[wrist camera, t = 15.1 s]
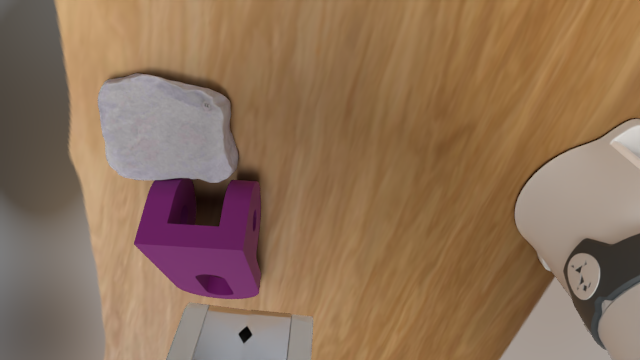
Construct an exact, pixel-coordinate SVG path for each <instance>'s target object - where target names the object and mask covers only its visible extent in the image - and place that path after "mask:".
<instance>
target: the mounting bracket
mask: <svg viewBox="0 0 640 360" xmlns="http://www.w3.org/2000/svg"><path fill="white" fill-rule="evenodd" d="M260 217H261V198H260V185H259V183H258V181H244V180H231V182H230V183H229V185H228V187H227V190H226V194H225V198H224V203H223V209H222V214H221V220H220V225H219V227H218V226H202V225H195V220H196V198H195V192H194V185H193V182H192V181H191V179H190V178H174V179H167V180H155V181H154V183H153V184H152V186H151V188H150V191H149V193H148V196H147V200H146V203H145V207H144V210H143V214H142V217H141V221H140V224H139V228H138V231H137V235H136V238H135V242H134V245H135V246H136V247H137V248H138V249H139V250H140V251H141V252H142V253H143V254H144V255H145V256H147V257H148V258H149V259H150V260H151V261H152V262H153V263H154V264H155V265H156V266H157V267H158V268H159V269H160V270H161V271H162V272H163V273H164V274H165V275H166V276H167V277H168V278H169V279H170V280H171V281H172V282H173V283H174V284H175V285H176V286H177V287H178V288H180V289H182V290H184V291H187V292H189V293H193V294H197V295H201V296H206V297H213V298H223V299H243V298H250V297H254V296H256V295H257V294H258V293H259V287H260V279H261V272H260V269H259V266H258V263H257V260H256V252H257V245H258V237H259V229H260ZM212 275H215V276H219V277H222V278H219V277H215V276H212Z"/></svg>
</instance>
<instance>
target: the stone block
mask: <svg viewBox="0 0 640 360" xmlns="http://www.w3.org/2000/svg"><path fill="white" fill-rule="evenodd" d="M98 107H99V112H100V120H101V128H102V133H103V137H104V140H105V150H106V158H107V161H108V163H109V165H110V166H111V167H112V169H114V170H116V171H117V173H118V174H119V175H121V176H123V177H126V178H131V179H134V180H167V179H174V178H190V179H201V180H204V181H207V182H209V183H219V182H221V181H223V180H225V179H227V178H229V177H230V176H231V174H232V173H233V172H234V171H235V170H236V169H237V164H238V158H239V155H238V151H237V148H236V144H235V142H234V139H233V135H232V133H231V131H230V126H229V125H230V118H231V110H230V107H231V104H230V101H229V100H228V99H227V98H226V97H225V96H224V95H222V94H221V93H218V92H215V91H213V90H211V89H209V88H203V87H199V86H195V85H189V84H184V83H182V82H178V81H171V80H167V79H164V78H162V77H157V76H153V75H148V74H139V73H135V74H132V75H129V76H126V77H123V78H114V79H108V80H106V81H105V82H104V84H103V86H102V87H101V89H100V92H99V96H98Z"/></svg>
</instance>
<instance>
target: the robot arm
mask: <svg viewBox="0 0 640 360" xmlns="http://www.w3.org/2000/svg"><path fill="white" fill-rule="evenodd" d="M515 222H516V225H517V228H518V230H519V232H520V233H521V235H522V236H523V237H524V238H525V239H526V240H527V241H528V242H529V243H530V244H531V245H532V246H533V248H534V249H535V250H536V251H537V254H538V258H539V260H540V262H541V263H542V265H543V266H544V268H545V269H547V270H549V271H552V272H553V274H554V275H555V277H556V278H557V279H558V281H559V282H560V283H561V285H562V286H563V288H564V289H565V290H566V292H567V293H568V294H569V296H570V297H571V298H572V300H573V303H574V306H575V308H576V310H577V311H578V313H579V315H580V317H581V318H582V320H583V322H584V325H585V327H586V328H587V331H588V332H589V333H590V334H591V335H592V337H593V338H594V340H595V341H596V342H597V344H599V345H600V346H601V347H602V348H603V349H605V350H607V352H608V354H609V355H610V357H611V359H612V360H640V119H633V120H629V121H627V122H625V123H623V124H621V125H620V126H618V127H616V128H615V129H614V130H612V131H611V132H609V133H608V134H606V135H605V136H604V137H602V138H600V139H598V140H596V141H594V142H591V143H588V144H585V145H582V146H579V147H577V148H574V149H572V150H569V151H567V152H565V153H563V154H561V155H559V156H558V157H556V158H554V159H553V160H551V161H550V162H548V163H547V164H546V165H544V166H543V167H542V168H541V169H539V170H538V171H537V172H536V173H535V174H534V175H533V176H532V177H531V178H530V180H529V181H528V182H527V183H526V185H525V186H524V188H523V189H522V191H521V193H520V195H519V197H518V200H517V203H516V207H515ZM312 335H313V317H312V316H303V315H293V314H292V316H291V314H290V313H279V312H269V311H259V310H243V309H236V308H228V307H221V306H213V305H206V304H198V303H188V305H187V306H186V308H185V309H184V312H183V315H182V318H181V320H180V323H179V326H178V328H177V331H176V334H175V337H174V339H173V342H172V345H171V347H170V350H169V353H168V356H167V358H166V360H311V352H312Z"/></svg>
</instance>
